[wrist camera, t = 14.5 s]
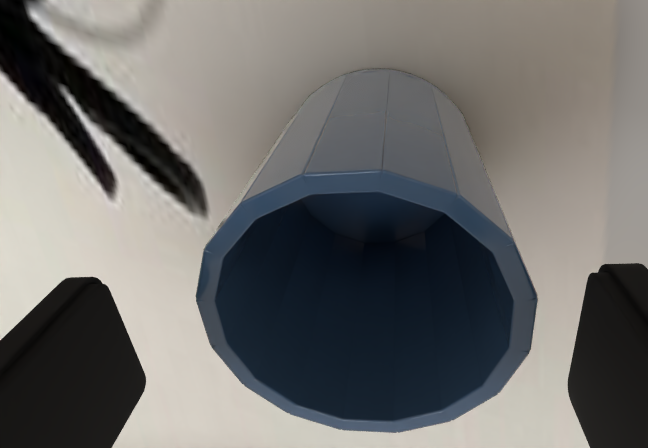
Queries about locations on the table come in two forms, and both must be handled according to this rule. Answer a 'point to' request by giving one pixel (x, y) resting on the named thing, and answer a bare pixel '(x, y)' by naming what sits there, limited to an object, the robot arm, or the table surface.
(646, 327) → the robot arm
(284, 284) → the cup
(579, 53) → the table surface
